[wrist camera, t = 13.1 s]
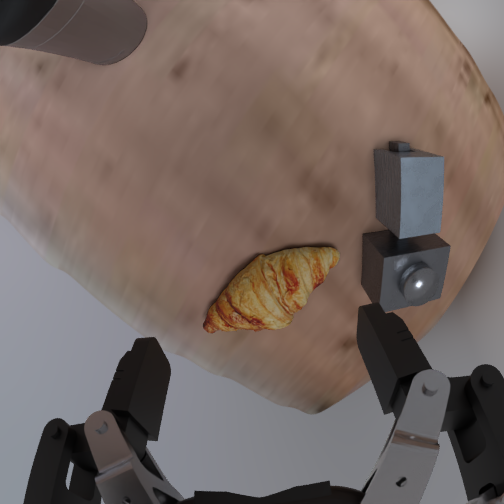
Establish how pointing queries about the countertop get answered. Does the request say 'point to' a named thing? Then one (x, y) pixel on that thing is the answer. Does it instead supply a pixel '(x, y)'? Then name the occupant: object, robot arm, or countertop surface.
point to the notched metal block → (409, 191)
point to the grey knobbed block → (403, 264)
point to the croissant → (271, 290)
